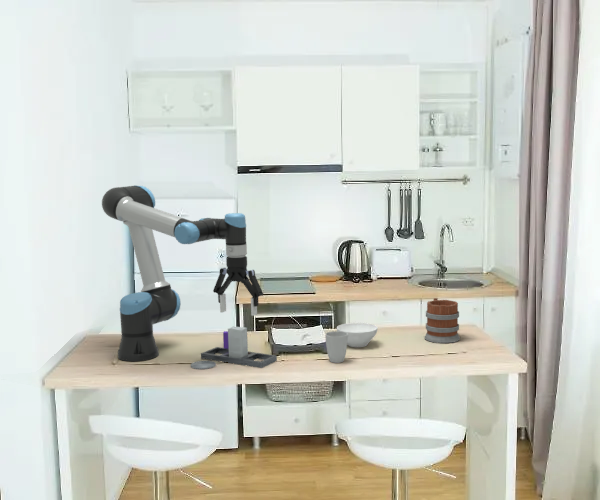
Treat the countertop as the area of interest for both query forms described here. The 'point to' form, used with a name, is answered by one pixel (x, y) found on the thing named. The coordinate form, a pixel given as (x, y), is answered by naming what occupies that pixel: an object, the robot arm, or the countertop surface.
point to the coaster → (203, 364)
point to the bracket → (225, 339)
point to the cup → (336, 345)
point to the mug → (442, 321)
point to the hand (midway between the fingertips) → (238, 313)
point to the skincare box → (237, 342)
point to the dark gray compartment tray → (244, 360)
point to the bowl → (358, 333)
